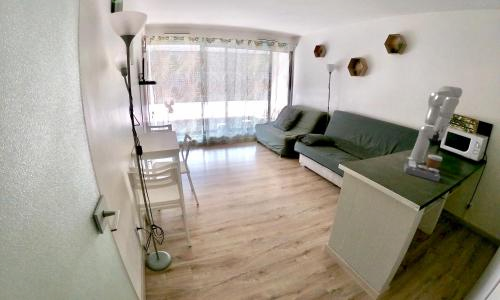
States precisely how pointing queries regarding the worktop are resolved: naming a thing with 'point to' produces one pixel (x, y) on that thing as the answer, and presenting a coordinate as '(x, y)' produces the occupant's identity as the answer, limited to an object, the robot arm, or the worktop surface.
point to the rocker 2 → (422, 167)
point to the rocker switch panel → (422, 172)
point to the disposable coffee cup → (433, 161)
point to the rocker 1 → (412, 164)
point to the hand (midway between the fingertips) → (434, 140)
